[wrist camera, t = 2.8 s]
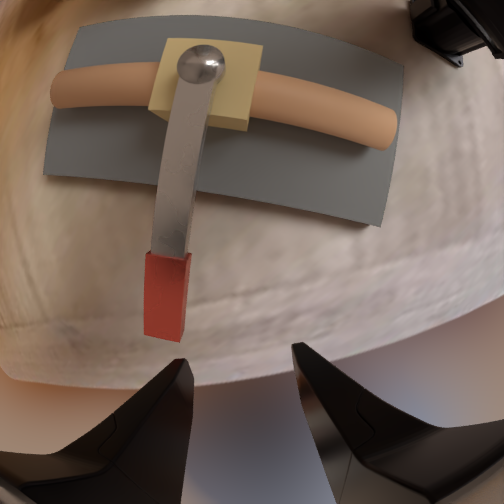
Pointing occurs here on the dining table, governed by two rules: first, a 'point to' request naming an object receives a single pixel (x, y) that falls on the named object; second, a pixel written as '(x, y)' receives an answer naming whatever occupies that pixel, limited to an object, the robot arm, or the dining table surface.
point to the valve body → (234, 112)
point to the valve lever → (179, 192)
